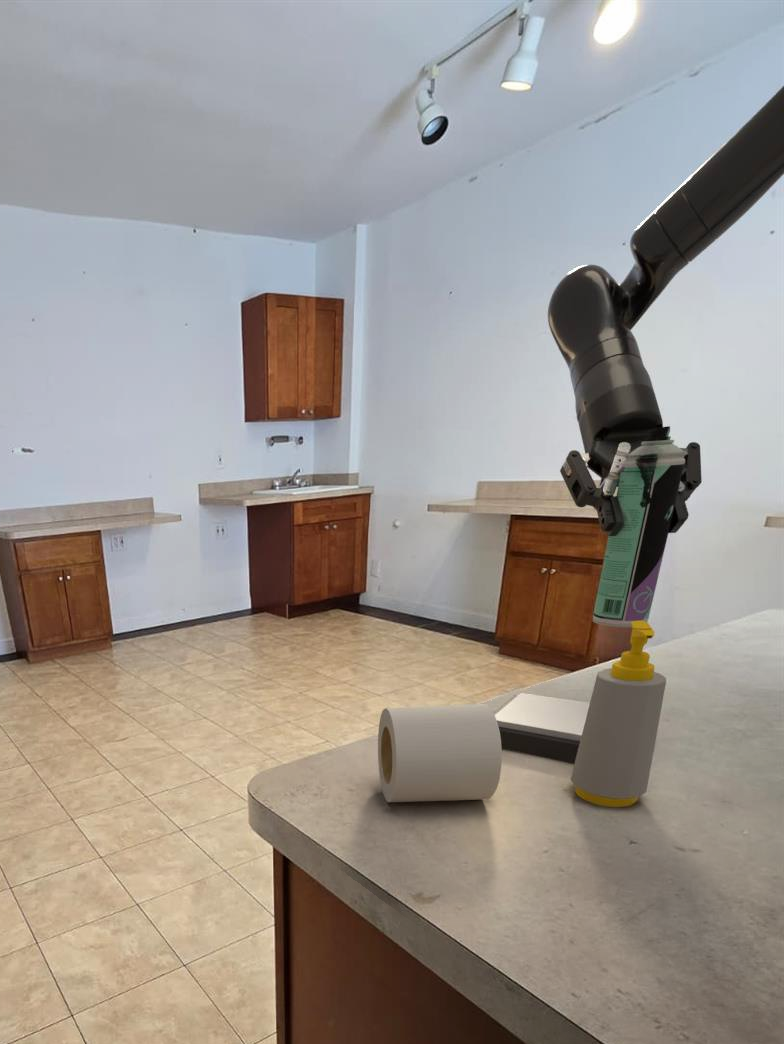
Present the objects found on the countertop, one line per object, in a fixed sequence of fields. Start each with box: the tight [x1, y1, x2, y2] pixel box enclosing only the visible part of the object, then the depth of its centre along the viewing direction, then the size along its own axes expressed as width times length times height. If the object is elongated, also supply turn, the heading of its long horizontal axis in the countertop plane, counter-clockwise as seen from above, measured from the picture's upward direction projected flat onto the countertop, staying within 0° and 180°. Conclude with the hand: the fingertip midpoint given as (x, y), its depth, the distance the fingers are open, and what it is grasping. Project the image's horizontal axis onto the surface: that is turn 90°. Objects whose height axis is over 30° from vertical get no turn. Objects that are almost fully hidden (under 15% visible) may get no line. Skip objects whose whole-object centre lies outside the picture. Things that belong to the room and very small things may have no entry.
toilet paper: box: [377, 703, 503, 803], centre depth 67 cm, size 10×10×10 cm
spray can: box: [592, 426, 686, 628], centre depth 69 cm, size 6×6×20 cm
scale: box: [493, 692, 590, 764], centre depth 80 cm, size 16×14×3 cm
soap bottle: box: [570, 621, 667, 808], centre depth 63 cm, size 7×7×18 cm
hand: (646, 529), depth 68 cm, fingers closed on spray can, 5 cm apart
